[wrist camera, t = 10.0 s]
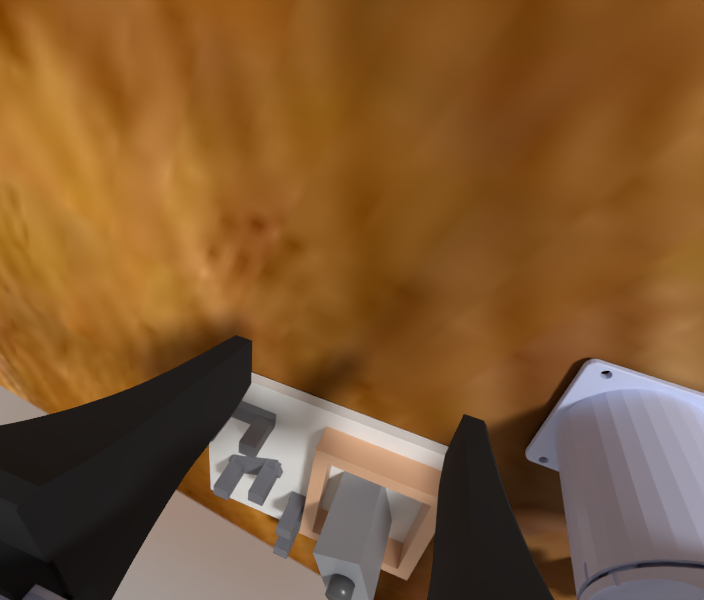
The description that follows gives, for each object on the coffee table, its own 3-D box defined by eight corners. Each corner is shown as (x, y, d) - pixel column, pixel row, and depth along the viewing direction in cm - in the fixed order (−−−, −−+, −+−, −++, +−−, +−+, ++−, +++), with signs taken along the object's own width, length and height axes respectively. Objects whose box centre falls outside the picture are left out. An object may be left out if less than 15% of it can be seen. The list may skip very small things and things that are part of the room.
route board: (470, 455, 26) (466, 509, 23) (408, 565, 35) (399, 615, 32) (212, 357, 29) (177, 393, 26) (215, 481, 38) (190, 519, 35)
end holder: (454, 476, 26) (451, 503, 24) (411, 554, 32) (406, 580, 31) (327, 426, 28) (315, 449, 26) (309, 509, 34) (299, 532, 32)
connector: (383, 477, 28) (354, 582, 23) (392, 521, 31) (367, 626, 25) (344, 470, 29) (306, 569, 24) (355, 513, 32) (323, 612, 26)
